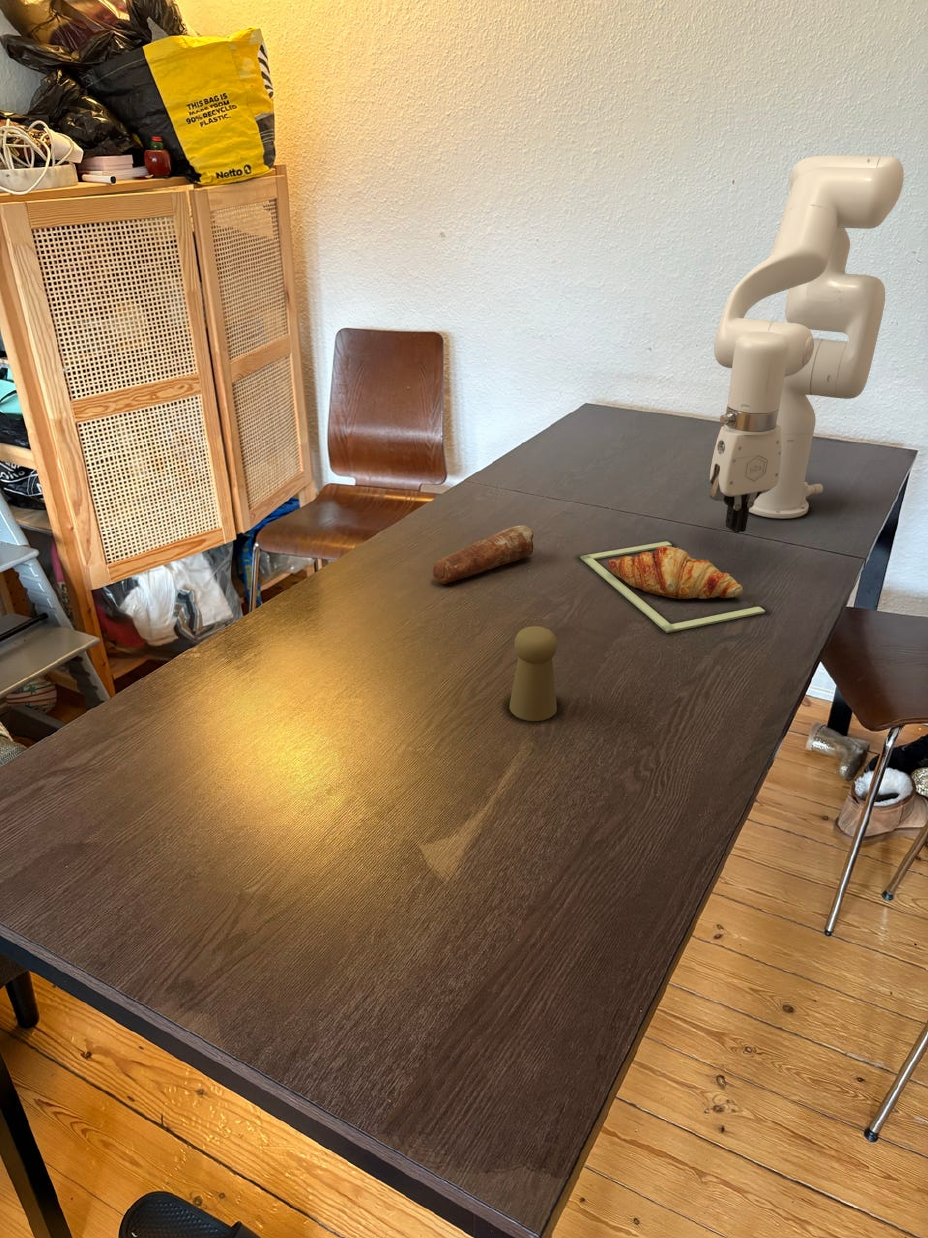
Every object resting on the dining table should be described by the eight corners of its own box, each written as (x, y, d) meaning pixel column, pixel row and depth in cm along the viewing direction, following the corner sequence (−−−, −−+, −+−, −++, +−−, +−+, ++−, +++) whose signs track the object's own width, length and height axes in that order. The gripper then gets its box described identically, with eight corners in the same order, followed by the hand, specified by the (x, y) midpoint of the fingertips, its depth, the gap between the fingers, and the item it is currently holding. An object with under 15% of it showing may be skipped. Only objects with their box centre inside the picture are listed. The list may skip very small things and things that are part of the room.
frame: (666, 543, 159) (667, 541, 159) (764, 612, 137) (765, 610, 137) (580, 558, 154) (580, 555, 154) (667, 633, 131) (667, 630, 131)
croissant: (739, 611, 144) (749, 561, 144) (737, 609, 135) (748, 556, 134) (608, 586, 151) (618, 539, 150) (597, 583, 141) (608, 533, 141)
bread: (537, 560, 153) (538, 530, 150) (445, 591, 143) (444, 559, 141) (513, 548, 158) (514, 518, 155) (422, 577, 148) (421, 546, 145)
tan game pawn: (506, 695, 117) (508, 621, 112) (552, 692, 118) (556, 618, 113) (512, 722, 112) (514, 645, 107) (560, 719, 113) (565, 643, 107)
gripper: (723, 432, 131) (708, 546, 141) (808, 418, 136) (788, 530, 145) (694, 417, 137) (682, 527, 147) (776, 404, 142) (759, 512, 151)
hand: (735, 528), depth 146 cm, fingers closed
